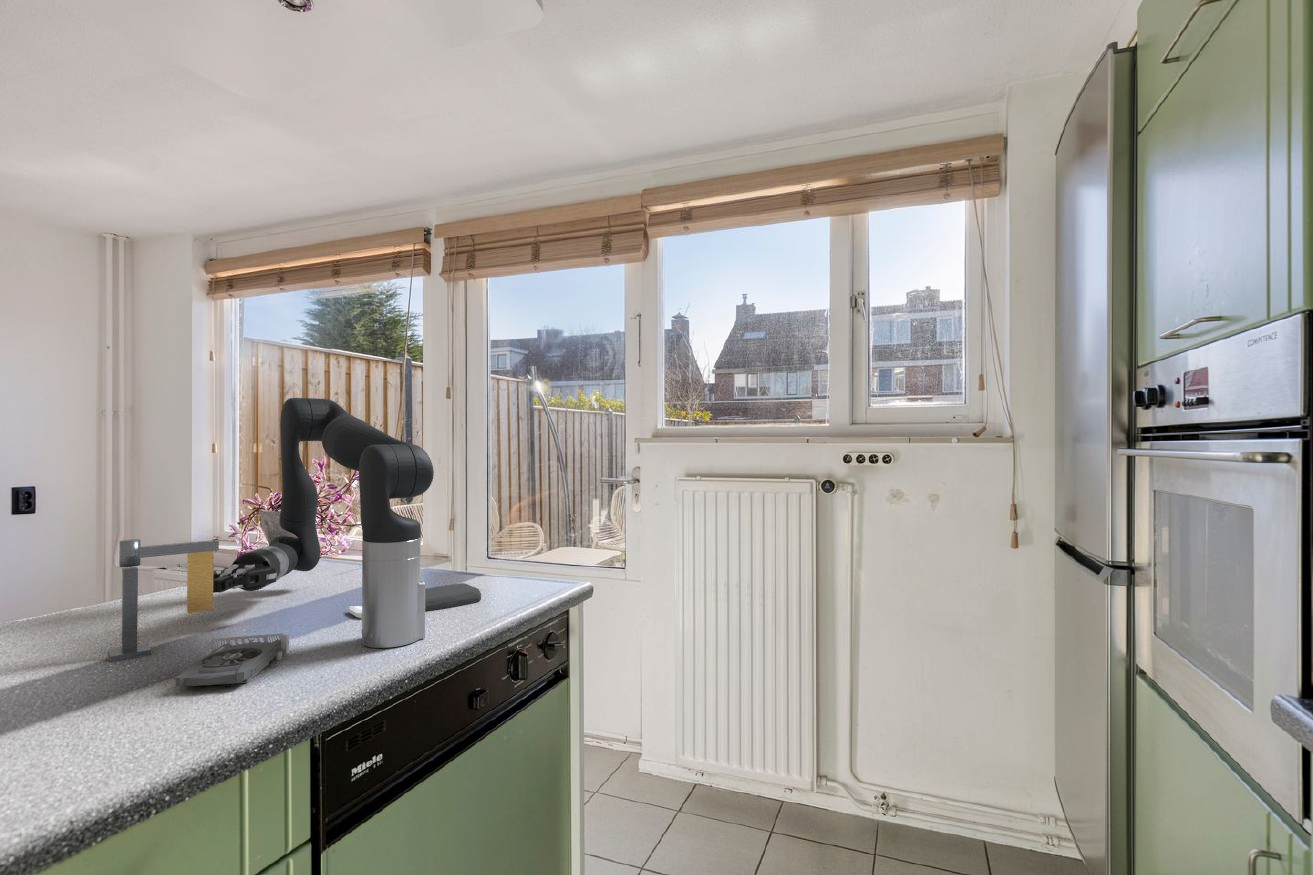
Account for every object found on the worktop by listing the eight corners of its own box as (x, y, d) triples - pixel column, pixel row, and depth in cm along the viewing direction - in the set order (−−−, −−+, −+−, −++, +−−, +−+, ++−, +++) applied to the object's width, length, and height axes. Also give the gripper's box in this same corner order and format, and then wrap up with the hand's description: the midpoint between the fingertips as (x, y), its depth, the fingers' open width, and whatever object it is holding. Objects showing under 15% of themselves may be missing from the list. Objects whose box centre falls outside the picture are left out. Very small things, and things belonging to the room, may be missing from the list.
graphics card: (208, 636, 103) (291, 630, 105) (209, 660, 103) (292, 653, 105) (148, 675, 87) (248, 667, 89) (148, 704, 87) (248, 695, 89)
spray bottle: (484, 604, 138) (361, 627, 122) (462, 594, 146) (344, 615, 130) (484, 590, 138) (361, 611, 122) (462, 581, 146) (344, 600, 130)
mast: (147, 647, 107) (147, 564, 107) (151, 654, 103) (151, 568, 103) (107, 654, 104) (108, 568, 104) (110, 661, 100) (110, 572, 100)
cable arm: (215, 607, 113) (216, 532, 113) (218, 609, 111) (219, 534, 111) (118, 621, 104) (118, 540, 104) (119, 624, 102) (120, 542, 102)
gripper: (225, 549, 130) (174, 566, 112) (296, 547, 132) (257, 564, 114) (224, 587, 130) (174, 609, 112) (296, 585, 131) (257, 607, 114)
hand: (216, 586), depth 113 cm, fingers closed
